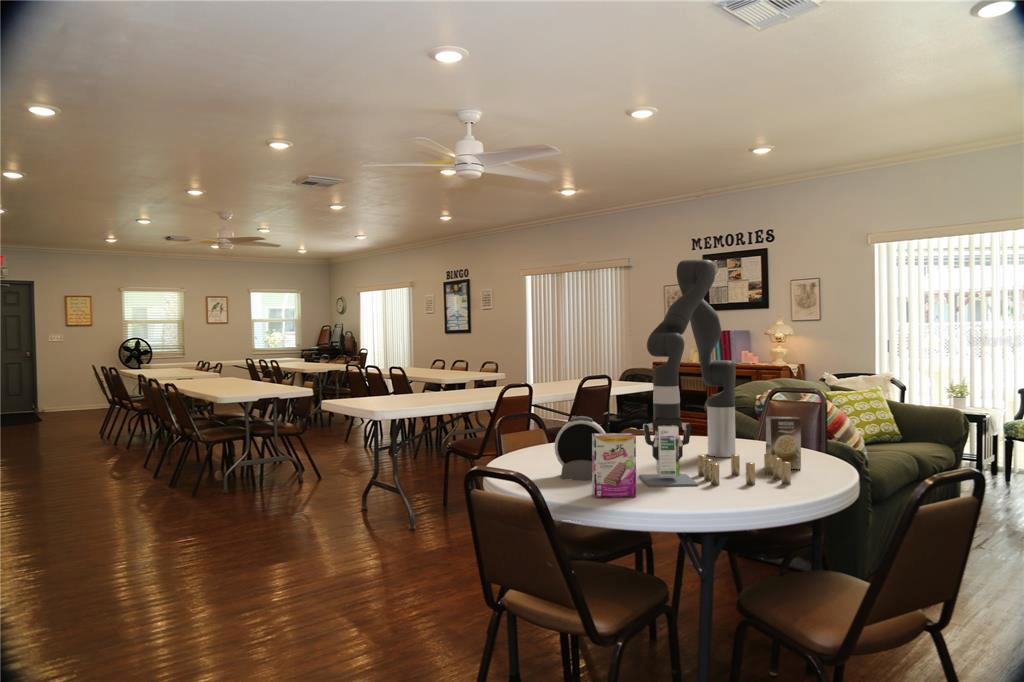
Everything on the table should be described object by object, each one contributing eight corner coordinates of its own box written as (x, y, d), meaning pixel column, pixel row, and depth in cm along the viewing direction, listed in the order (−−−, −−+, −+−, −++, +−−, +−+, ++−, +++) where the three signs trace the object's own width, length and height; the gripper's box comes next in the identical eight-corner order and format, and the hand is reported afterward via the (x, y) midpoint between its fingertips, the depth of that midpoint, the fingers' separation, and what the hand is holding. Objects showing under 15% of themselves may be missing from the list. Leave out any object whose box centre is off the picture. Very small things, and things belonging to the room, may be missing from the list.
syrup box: (659, 477, 193) (658, 426, 193) (656, 472, 199) (655, 423, 199) (679, 476, 193) (678, 426, 193) (675, 472, 199) (674, 423, 199)
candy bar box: (594, 498, 176) (593, 436, 176) (591, 494, 181) (590, 433, 181) (637, 497, 177) (636, 435, 177) (633, 493, 182) (632, 432, 182)
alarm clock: (554, 480, 200) (553, 418, 200) (557, 473, 210) (556, 414, 210) (609, 480, 198) (608, 418, 198) (609, 473, 208) (608, 414, 208)
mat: (639, 476, 203) (639, 474, 203) (685, 475, 203) (685, 473, 203) (648, 486, 189) (648, 484, 189) (698, 486, 189) (698, 483, 189)
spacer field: (697, 474, 204) (696, 455, 204) (771, 473, 204) (770, 453, 204) (712, 486, 189) (711, 464, 189) (792, 484, 189) (791, 463, 189)
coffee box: (771, 470, 209) (770, 418, 209) (765, 466, 216) (764, 416, 215) (801, 470, 208) (801, 418, 208) (795, 466, 215) (794, 416, 215)
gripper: (687, 399, 200) (688, 456, 200) (639, 400, 200) (640, 457, 200) (694, 402, 192) (695, 461, 192) (644, 403, 192) (645, 462, 192)
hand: (667, 459), depth 196 cm, fingers closed on syrup box, 5 cm apart
